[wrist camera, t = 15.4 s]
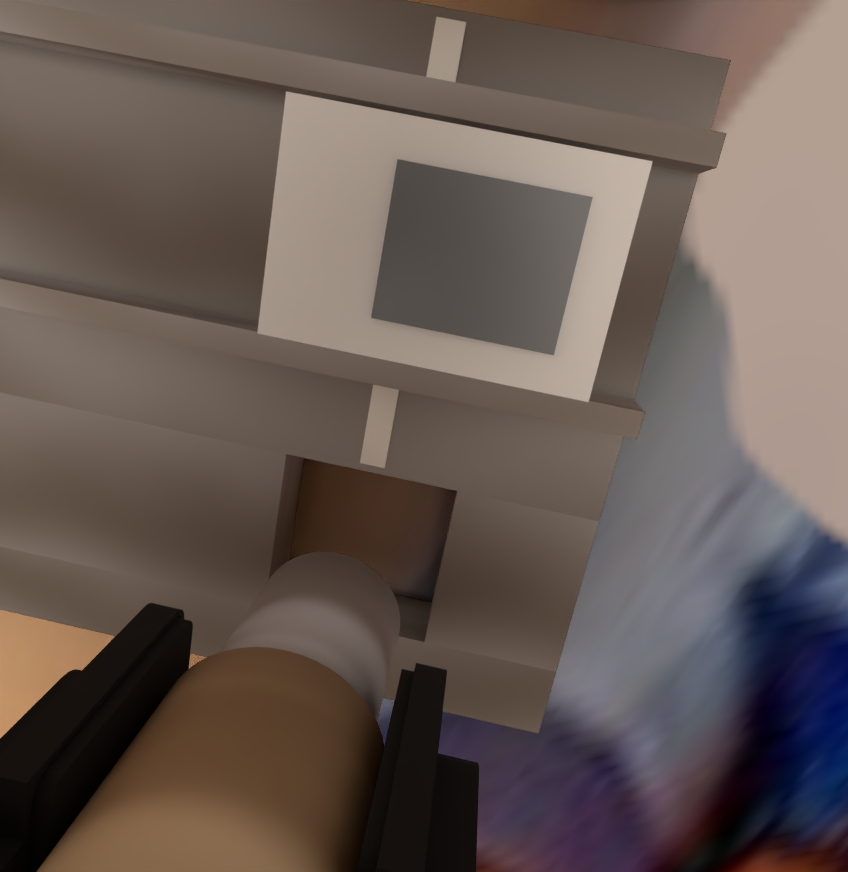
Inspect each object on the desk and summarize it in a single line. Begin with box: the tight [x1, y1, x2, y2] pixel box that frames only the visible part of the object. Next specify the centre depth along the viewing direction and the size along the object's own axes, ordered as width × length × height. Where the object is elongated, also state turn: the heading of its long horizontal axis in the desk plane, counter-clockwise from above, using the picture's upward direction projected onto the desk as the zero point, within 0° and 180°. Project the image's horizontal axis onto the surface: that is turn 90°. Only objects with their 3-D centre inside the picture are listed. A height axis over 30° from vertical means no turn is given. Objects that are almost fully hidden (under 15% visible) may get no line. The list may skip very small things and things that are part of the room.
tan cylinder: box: [37, 551, 400, 872], centre depth 10 cm, size 4×4×10 cm
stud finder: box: [257, 91, 653, 402], centre depth 13 cm, size 4×6×3 cm, turn 79°
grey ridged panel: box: [0, 0, 731, 733], centre depth 16 cm, size 16×18×3 cm
